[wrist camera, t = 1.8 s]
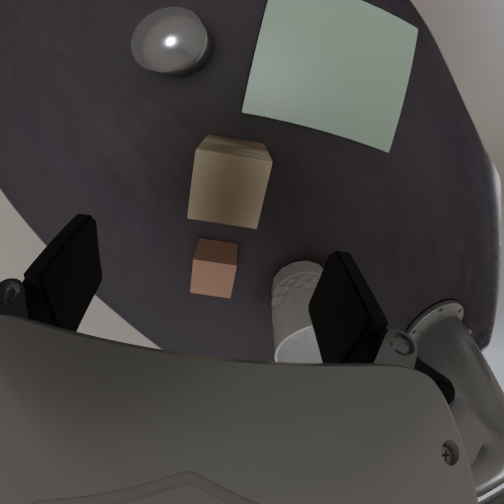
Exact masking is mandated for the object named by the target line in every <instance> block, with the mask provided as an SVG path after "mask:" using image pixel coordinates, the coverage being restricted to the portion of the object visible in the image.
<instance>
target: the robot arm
mask: <svg viewBox="0 0 504 504" xmlns="http://www.w3.org/2000/svg"><path fill="white" fill-rule="evenodd" d="M24 277H25V279H24V281H23V282H21V281H20V280H18V279H13V278H10V279H6V280H4V281H1V282H0V504H504V488H503V489H501V490H500V491H498V492H496V493H495V494H493V495H491V496H489V497H487V498H486V499H484V500H482V501H480V502H478V499H477V498H478V497H480V496H482V495H484V494H486V493H487V492H489V491H491V490H493V489H494V488H496V487H498V486H499V485H501V484H502V483H504V393H503V391H502V389H501V387H500V386H499V384H498V381H497V380H496V378H495V376H494V374H493V372H492V370H491V368H490V367H489V365H488V363H487V361H486V360H485V358H484V356H483V354H482V353H481V351H480V349H479V348H478V346H477V344H476V343H475V341H474V340H473V338H472V336H471V329H470V328H467V329H466V327H465V326H464V324H463V323H462V318H463V314H464V310H463V307H462V306H461V304H460V303H459V302H458V301H456V300H446V301H443V302H440V303H438V304H436V305H434V306H432V307H430V308H429V309H427V310H426V311H425V312H423V313H422V314H421V315H420V316H419V317H418V318H417V319H416V320H415V321H414V322H413V323H412V324H411V325H410V327H409V328H408V330H407V331H406V333H405V332H403V331H401V330H397V329H392V330H389V331H388V330H387V328H386V326H387V325H388V321H387V319H386V317H385V315H384V313H383V312H382V310H381V308H380V306H379V304H378V302H377V300H376V298H375V297H374V295H373V293H372V291H371V289H370V287H369V286H368V284H367V282H366V280H365V279H364V277H363V275H362V273H361V272H360V270H359V268H358V266H357V265H356V263H355V261H354V260H353V258H352V256H351V254H350V253H348V252H342V251H335V252H334V253H333V254H332V253H331V254H330V255H329V257H328V259H327V262H326V264H325V266H324V269H323V271H322V274H321V276H320V279H319V281H318V283H317V286H316V288H315V290H314V293H313V295H312V297H311V299H310V302H309V305H308V311H309V315H310V318H311V322H312V325H313V329H314V333H315V336H316V340H317V344H318V347H319V351H320V355H321V359H322V362H323V363H293V362H270V361H255V360H242V359H230V358H220V357H211V356H203V355H195V354H187V353H180V352H173V351H167V350H160V349H154V348H149V347H143V346H138V345H132V344H127V343H122V342H117V341H113V340H108V339H103V338H99V337H95V336H91V335H87V334H83V333H78V332H76V331H77V329H78V327H79V324H80V322H81V320H82V318H83V316H84V314H85V312H86V310H87V308H88V306H89V304H90V302H91V300H92V298H93V296H94V294H95V293H96V291H97V289H98V287H99V285H100V283H101V280H102V271H101V264H100V256H99V248H98V239H97V228H96V221H95V220H94V219H93V218H92V216H91V215H85V214H77V215H76V216H75V217H74V218H73V219H72V220H71V221H70V222H69V223H68V224H67V225H66V226H65V227H64V228H63V229H62V230H61V231H60V233H59V234H58V235H57V236H56V237H55V238H54V239H53V240H52V241H51V242H50V243H49V245H48V246H47V247H46V248H45V249H44V250H43V251H42V253H41V254H40V255H39V256H38V258H37V259H36V260H35V261H34V262H33V263H32V264H31V266H30V267H29V268H28V269H27V271H26V272H25V273H24ZM417 356H418V358H419V359H418V358H417Z"/></svg>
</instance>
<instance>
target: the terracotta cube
mask: <svg viewBox="0 0 504 504" xmlns="http://www.w3.org/2000/svg"><path fill="white" fill-rule="evenodd" d="M236 268H237V244H236V243H229V242H223V241H216V240H210V239H203V238H199V239H198V243H197V246H196V250H195V254H194V258H193V267H192V278H191V290H190V293H197V294H203V295H210V296H217V297H224V298H230V297H231V292H232V288H233V283H234V278H235V273H236Z"/></svg>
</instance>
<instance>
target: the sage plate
mask: <svg viewBox="0 0 504 504" xmlns="http://www.w3.org/2000/svg"><path fill="white" fill-rule="evenodd" d="M417 33H418V29H417V28H416V27H414V26H412V25H410V24H409V23H407V22H405V21H403V20H401V19H400V18H398V17H396V16H394V15H392V14H390V13H388V12H386V11H384V10H382V9H380V8H378V7H375V6H373V5H371V4H369V3H367V2H364V1H362V0H268V2H267V5H266V9H265V13H264V17H263V21H262V25H261V29H260V33H259V37H258V41H257V45H256V50H255V54H254V58H253V62H252V67H251V71H250V76H249V80H248V85H247V89H246V94H245V99H244V103H243V108H242V113H247V114H253V115H258V116H263V117H268V118H273V119H277V120H282V121H286V122H290V123H295V124H299V125H303V126H306V127H310V128H314V129H318V130H321V131H325V132H328V133H332V134H335V135H338V136H342V137H345V138H348V139H351V140H354V141H357V142H360V143H363V144H366V145H369V146H372V147H374V148H377V149H380V150H383V151H385V152H388V153H389V151H390V147H391V144H392V141H393V137H394V134H395V131H396V127H397V124H398V120H399V116H400V113H401V109H402V105H403V101H404V97H405V93H406V89H407V85H408V80H409V76H410V71H411V66H412V61H413V56H414V51H415V45H416V39H417Z"/></svg>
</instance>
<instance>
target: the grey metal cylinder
mask: <svg viewBox="0 0 504 504" xmlns="http://www.w3.org/2000/svg"><path fill="white" fill-rule="evenodd" d="M131 50H132V54H133V56H134V58H135V60H136V61H137V62H138V63H139V64H140V65H141V66H143V67H144V68H146V69H149V70H153V71H157V72H161V73H165V74H169V75H173V76H188V75H192V74H194V73H196V72H198V71H200V70H201V69H202V68H204V67H205V66H206V64H207V63H208V62H209V60H210V58H211V56H212V52H213V44H212V40H211V38H210V36H209V35H208V33H207V31H206V29H205V27H204V26H203V24H202V22H201V20H200V19H199V18H198V16H197V15H196V14H195V13H193V12H192V11H190V10H188V9H185V8H181V7H167V8H162V9H159V10H157V11H155V12H153V13H151V14H149V15H148V16H146V17H145V18H144V19H143V20H142V21H141V22H140V23H139V25H138V26H137V27H136V29H135V31H134V33H133V36H132V40H131Z"/></svg>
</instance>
